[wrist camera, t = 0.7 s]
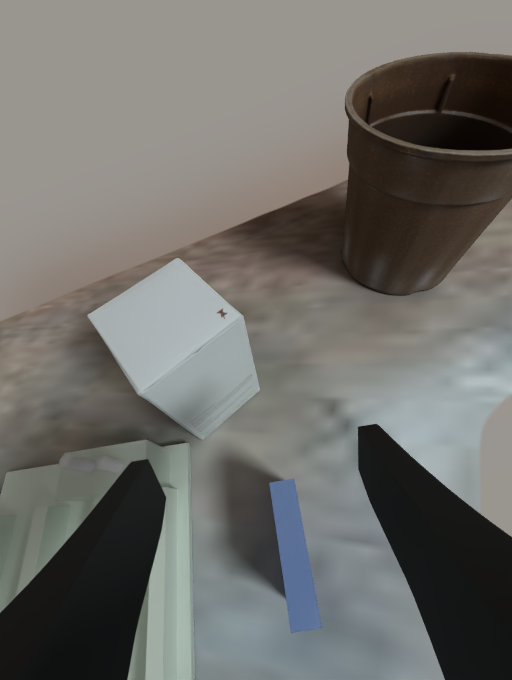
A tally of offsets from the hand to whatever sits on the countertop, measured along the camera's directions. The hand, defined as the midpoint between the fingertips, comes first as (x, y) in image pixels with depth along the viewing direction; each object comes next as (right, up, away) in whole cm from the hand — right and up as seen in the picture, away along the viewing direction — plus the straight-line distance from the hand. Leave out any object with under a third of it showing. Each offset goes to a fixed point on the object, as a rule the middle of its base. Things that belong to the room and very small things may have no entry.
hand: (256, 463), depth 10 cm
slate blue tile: (+3, -11, +12) cm, 16 cm away
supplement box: (-5, -1, +19) cm, 19 cm away
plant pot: (+16, +14, +25) cm, 33 cm away
